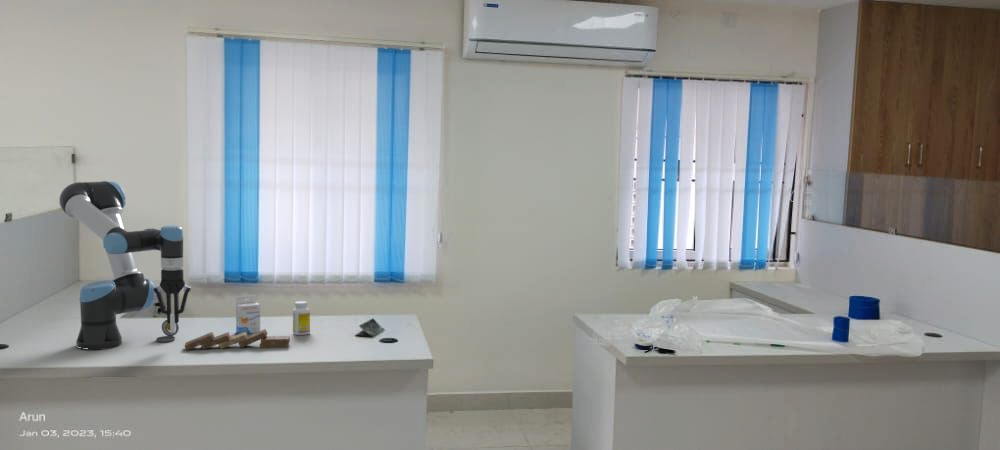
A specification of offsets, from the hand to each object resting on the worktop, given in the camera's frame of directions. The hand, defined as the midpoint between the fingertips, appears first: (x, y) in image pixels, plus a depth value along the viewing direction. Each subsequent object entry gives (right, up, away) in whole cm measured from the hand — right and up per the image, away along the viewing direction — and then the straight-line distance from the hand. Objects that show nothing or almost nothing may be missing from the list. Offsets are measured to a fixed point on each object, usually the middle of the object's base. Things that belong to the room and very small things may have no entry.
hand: (173, 331), depth 290 cm
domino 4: (+31, -4, +6) cm, 32 cm away
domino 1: (+5, -6, 0) cm, 7 cm away
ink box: (+19, -4, +27) cm, 34 cm away
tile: (+16, -5, +3) cm, 17 cm away
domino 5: (+30, -6, +6) cm, 32 cm away
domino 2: (+10, -6, +2) cm, 12 cm away
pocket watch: (-8, -5, +14) cm, 17 cm away
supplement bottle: (+41, -5, +27) cm, 49 cm away
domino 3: (+23, -5, +5) cm, 24 cm away
